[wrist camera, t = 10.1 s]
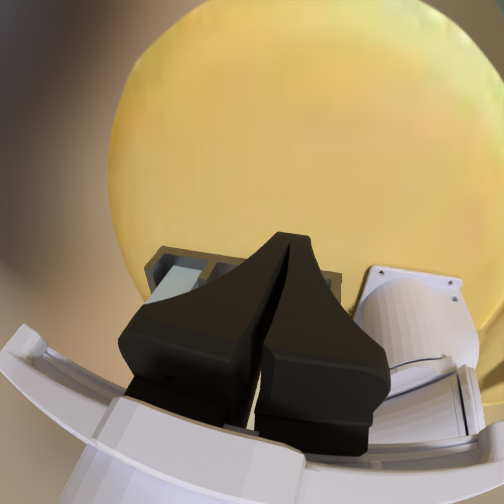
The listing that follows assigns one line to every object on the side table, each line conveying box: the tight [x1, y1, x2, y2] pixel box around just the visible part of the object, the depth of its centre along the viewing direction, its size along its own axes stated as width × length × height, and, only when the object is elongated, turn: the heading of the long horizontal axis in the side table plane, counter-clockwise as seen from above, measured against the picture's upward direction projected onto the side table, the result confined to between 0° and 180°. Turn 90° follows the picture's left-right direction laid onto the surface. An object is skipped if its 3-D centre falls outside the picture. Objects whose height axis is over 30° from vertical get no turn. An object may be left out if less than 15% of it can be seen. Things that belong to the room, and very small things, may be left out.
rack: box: [144, 246, 342, 303], centre depth 25 cm, size 17×10×4 cm, turn 89°
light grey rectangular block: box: [145, 266, 202, 304], centre depth 24 cm, size 3×7×6 cm, turn 179°
